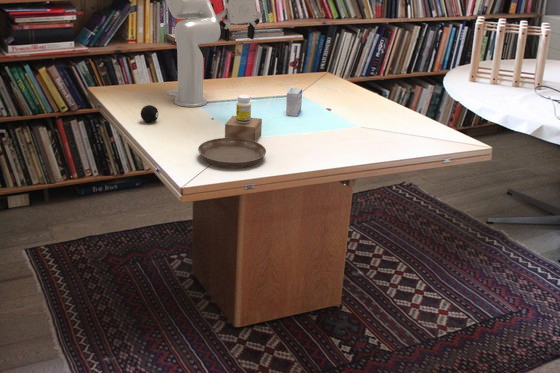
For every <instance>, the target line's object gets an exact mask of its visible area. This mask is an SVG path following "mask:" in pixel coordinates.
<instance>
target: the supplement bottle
mask: <svg viewBox="0 0 560 373" xmlns="http://www.w3.org/2000/svg"><path fill="white" fill-rule="evenodd" d="M235 110H236V115H235V116H236V121H237V122H239V123H249V122H250V121H251V118H252V115H251V114H252V113H251V112H252V103H251V96H250V95H247V94H240V95H238V96H237V102H236V109H235Z"/></svg>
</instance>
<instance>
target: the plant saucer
mask: <svg viewBox="0 0 560 373" xmlns="http://www.w3.org/2000/svg"><path fill="white" fill-rule="evenodd" d="M197 149H198V150H197V151H198V153H199V155H200V156H201V157H202V158H203V160H205V161H206V162H207V163H209V164H211V165H212V166H216V167H221V168H226V167H227V168H226V169H241V167H243V168H246V167H247V166H248V167H251V165H252V166H254V165H256V164H257V163H258V162H260V161H261V160H262V159H263V158H264V157H265V155H266V153H267V149H266V148H265V146H264V145H263V144H261V143H259V142H258V141H257V142H254V141H250V140H246V139H240V138H225V137H222V138H214V139H209V140H206V141H203V143H200V145H199V146H198V147H197ZM253 164H254V165H253Z"/></svg>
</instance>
